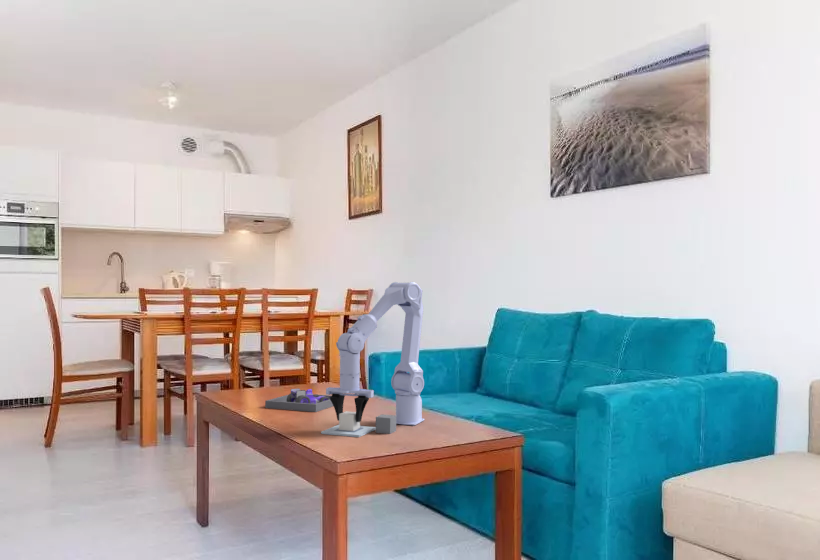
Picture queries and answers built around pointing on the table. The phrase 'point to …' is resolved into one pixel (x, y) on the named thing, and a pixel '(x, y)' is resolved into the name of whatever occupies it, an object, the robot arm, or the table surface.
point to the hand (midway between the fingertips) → (349, 420)
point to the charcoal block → (386, 424)
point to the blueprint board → (356, 433)
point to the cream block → (348, 421)
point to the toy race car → (305, 397)
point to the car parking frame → (297, 404)
